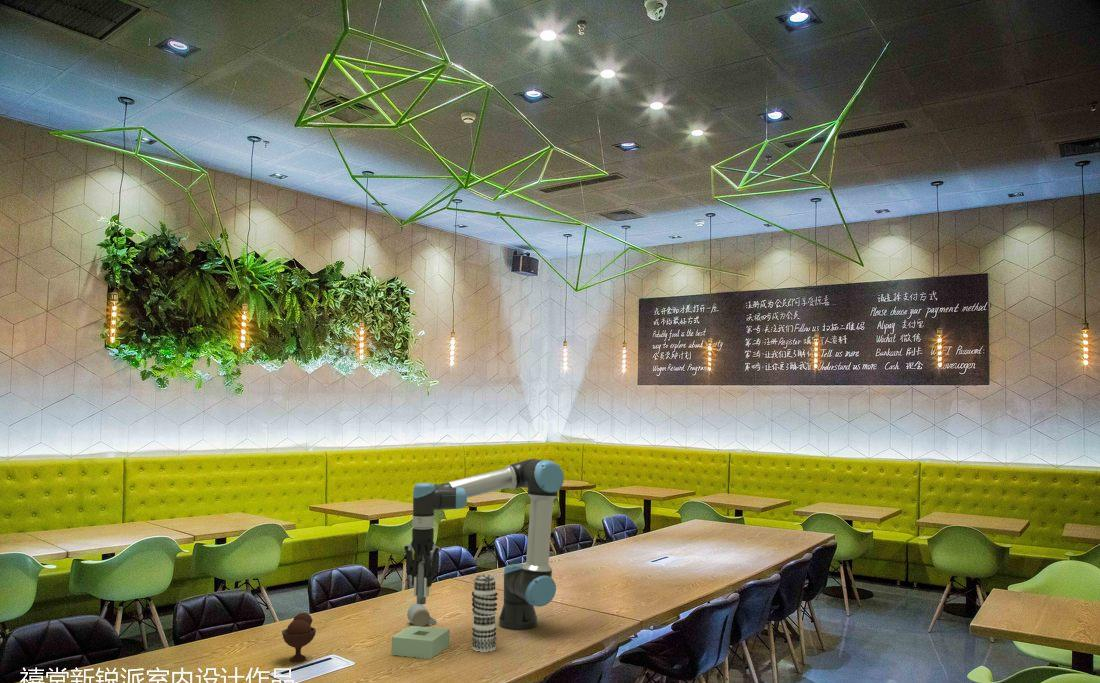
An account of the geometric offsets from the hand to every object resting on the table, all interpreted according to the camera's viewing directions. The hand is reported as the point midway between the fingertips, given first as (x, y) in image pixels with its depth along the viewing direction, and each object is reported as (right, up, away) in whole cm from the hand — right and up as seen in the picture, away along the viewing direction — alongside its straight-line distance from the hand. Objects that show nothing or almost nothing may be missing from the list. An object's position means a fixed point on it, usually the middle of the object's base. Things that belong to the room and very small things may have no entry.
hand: (421, 595), depth 271 cm
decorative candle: (+22, -19, +1) cm, 29 cm away
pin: (0, -3, 0) cm, 3 cm away
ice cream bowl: (-39, -17, -13) cm, 45 cm away
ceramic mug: (-5, -22, +30) cm, 38 cm away
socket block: (0, -19, -2) cm, 19 cm away
